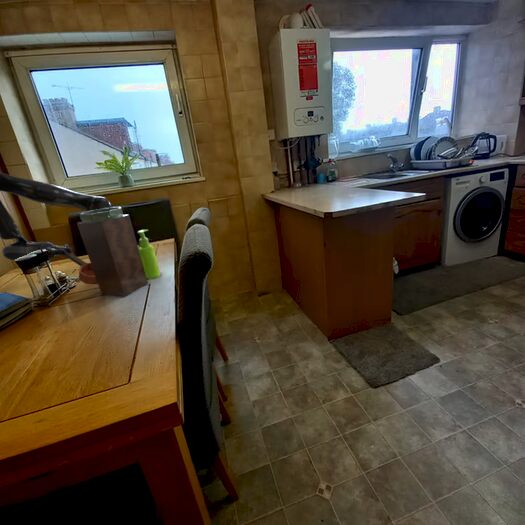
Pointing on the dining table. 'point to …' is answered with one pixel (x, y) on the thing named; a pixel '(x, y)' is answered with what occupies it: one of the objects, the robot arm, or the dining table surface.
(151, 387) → the dining table surface
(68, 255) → the brown handled piece
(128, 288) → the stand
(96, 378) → the dining table surface
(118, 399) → the dining table surface
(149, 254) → the soap dispenser
